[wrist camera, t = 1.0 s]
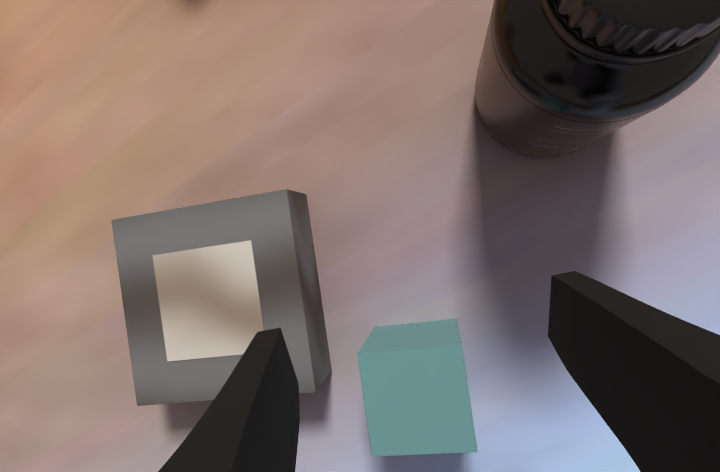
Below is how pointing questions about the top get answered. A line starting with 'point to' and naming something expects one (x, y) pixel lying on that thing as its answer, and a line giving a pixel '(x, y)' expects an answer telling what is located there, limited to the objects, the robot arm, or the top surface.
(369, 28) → the top surface
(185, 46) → the top surface
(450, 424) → the teal block
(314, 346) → the plinth
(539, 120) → the supplement bottle
